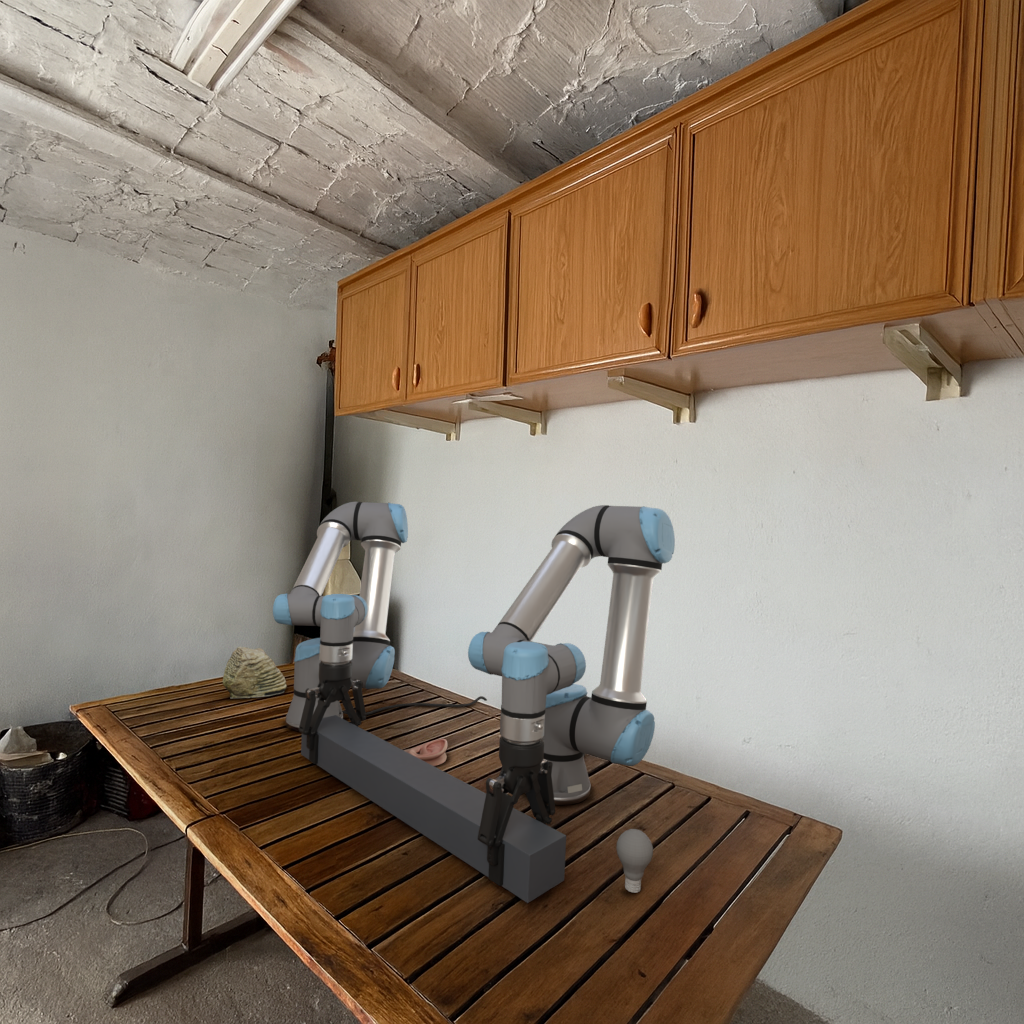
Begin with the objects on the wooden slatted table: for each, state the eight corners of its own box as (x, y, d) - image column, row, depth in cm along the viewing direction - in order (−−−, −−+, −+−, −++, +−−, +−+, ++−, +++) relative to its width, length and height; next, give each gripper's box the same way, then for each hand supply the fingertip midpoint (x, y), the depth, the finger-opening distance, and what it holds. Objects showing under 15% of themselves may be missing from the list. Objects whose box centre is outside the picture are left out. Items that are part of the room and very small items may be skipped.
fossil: (218, 695, 195) (220, 647, 195) (278, 685, 208) (279, 640, 207) (228, 703, 189) (230, 653, 188) (289, 692, 201) (290, 645, 201)
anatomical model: (384, 748, 150) (402, 731, 161) (383, 765, 150) (401, 747, 161) (437, 755, 147) (452, 738, 159) (437, 772, 148) (451, 753, 159)
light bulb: (610, 879, 108) (613, 822, 108) (644, 879, 109) (647, 822, 109) (619, 902, 102) (622, 840, 102) (655, 901, 103) (658, 840, 103)
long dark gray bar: (300, 754, 150) (301, 722, 150) (334, 745, 157) (335, 714, 156) (527, 903, 98) (529, 855, 98) (564, 880, 105) (566, 835, 105)
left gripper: (300, 672, 138) (296, 774, 138) (384, 657, 153) (380, 749, 154) (284, 664, 143) (280, 763, 144) (367, 651, 159) (363, 740, 159)
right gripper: (490, 761, 96) (484, 908, 96) (580, 728, 111) (574, 855, 111) (458, 746, 101) (452, 885, 101) (548, 716, 116) (542, 838, 117)
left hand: (332, 756), depth 149 cm, fingers closed on long dark gray bar, 9 cm apart
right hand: (516, 869), depth 106 cm, fingers closed on long dark gray bar, 9 cm apart
